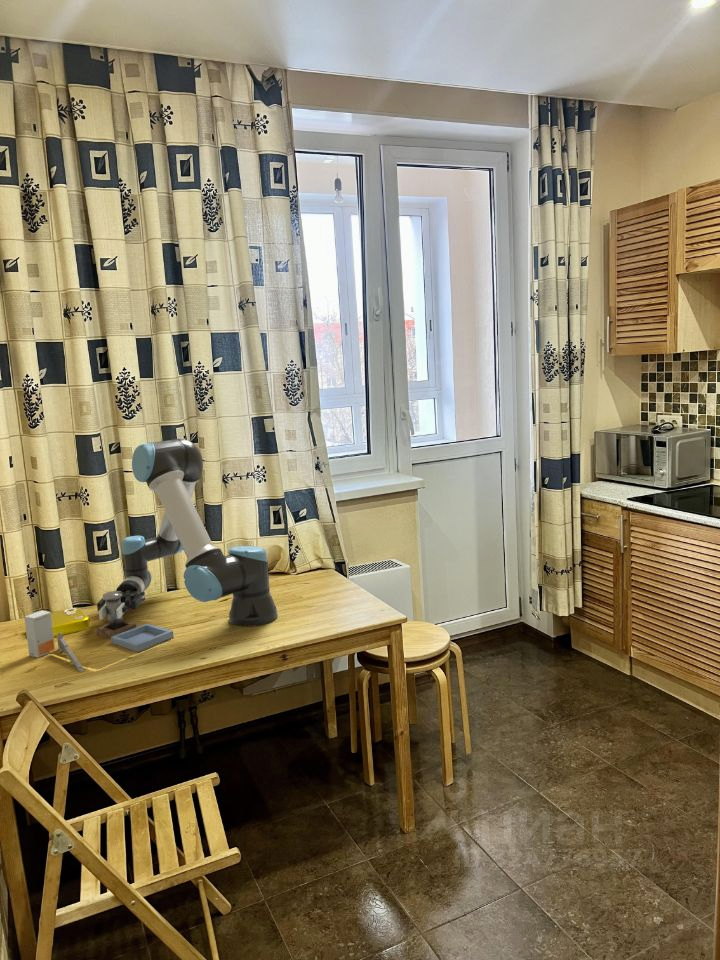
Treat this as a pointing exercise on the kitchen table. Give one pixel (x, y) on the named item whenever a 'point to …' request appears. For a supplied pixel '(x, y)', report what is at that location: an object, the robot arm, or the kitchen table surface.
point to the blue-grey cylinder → (113, 609)
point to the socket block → (109, 633)
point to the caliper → (68, 652)
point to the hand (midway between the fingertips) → (109, 614)
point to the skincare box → (39, 633)
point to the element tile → (69, 621)
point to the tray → (142, 637)
